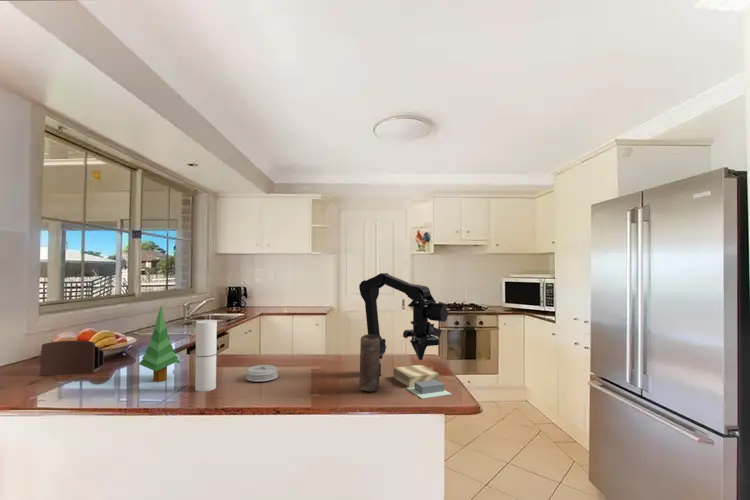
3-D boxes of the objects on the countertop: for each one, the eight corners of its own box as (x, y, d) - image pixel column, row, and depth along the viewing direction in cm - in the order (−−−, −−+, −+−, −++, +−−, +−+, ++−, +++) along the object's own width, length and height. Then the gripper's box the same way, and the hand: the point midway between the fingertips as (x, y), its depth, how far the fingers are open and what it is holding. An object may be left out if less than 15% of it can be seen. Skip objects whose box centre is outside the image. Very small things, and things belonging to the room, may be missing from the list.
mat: (422, 399, 139) (422, 398, 139) (406, 388, 150) (406, 387, 150) (451, 394, 144) (451, 393, 144) (434, 384, 155) (434, 384, 155)
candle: (382, 388, 151) (382, 334, 151) (376, 394, 144) (376, 338, 144) (363, 386, 153) (363, 333, 154) (356, 392, 146) (356, 337, 147)
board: (409, 387, 151) (409, 377, 152) (393, 377, 164) (393, 367, 164) (439, 383, 156) (439, 373, 156) (421, 374, 169) (421, 364, 169)
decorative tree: (132, 380, 160) (133, 305, 160) (173, 372, 171) (174, 302, 172) (144, 388, 150) (145, 308, 151) (187, 379, 162) (188, 304, 162)
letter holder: (93, 373, 170) (94, 340, 171) (39, 376, 166) (40, 342, 166) (104, 367, 180) (104, 335, 181) (53, 369, 176) (53, 337, 176)
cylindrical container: (195, 392, 146) (196, 323, 146) (194, 387, 152) (195, 320, 153) (217, 389, 149) (217, 322, 149) (214, 384, 155) (215, 319, 156)
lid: (238, 381, 160) (238, 368, 160) (261, 373, 172) (261, 361, 172) (262, 385, 154) (262, 372, 155) (284, 377, 166) (284, 365, 166)
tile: (414, 382, 149) (414, 389, 149) (422, 387, 143) (422, 394, 143) (435, 379, 152) (435, 386, 152) (444, 384, 147) (444, 391, 147)
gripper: (451, 321, 149) (451, 364, 148) (426, 314, 166) (426, 352, 166) (425, 323, 144) (425, 366, 144) (402, 316, 162) (402, 355, 161)
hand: (420, 359), depth 154 cm, fingers closed
